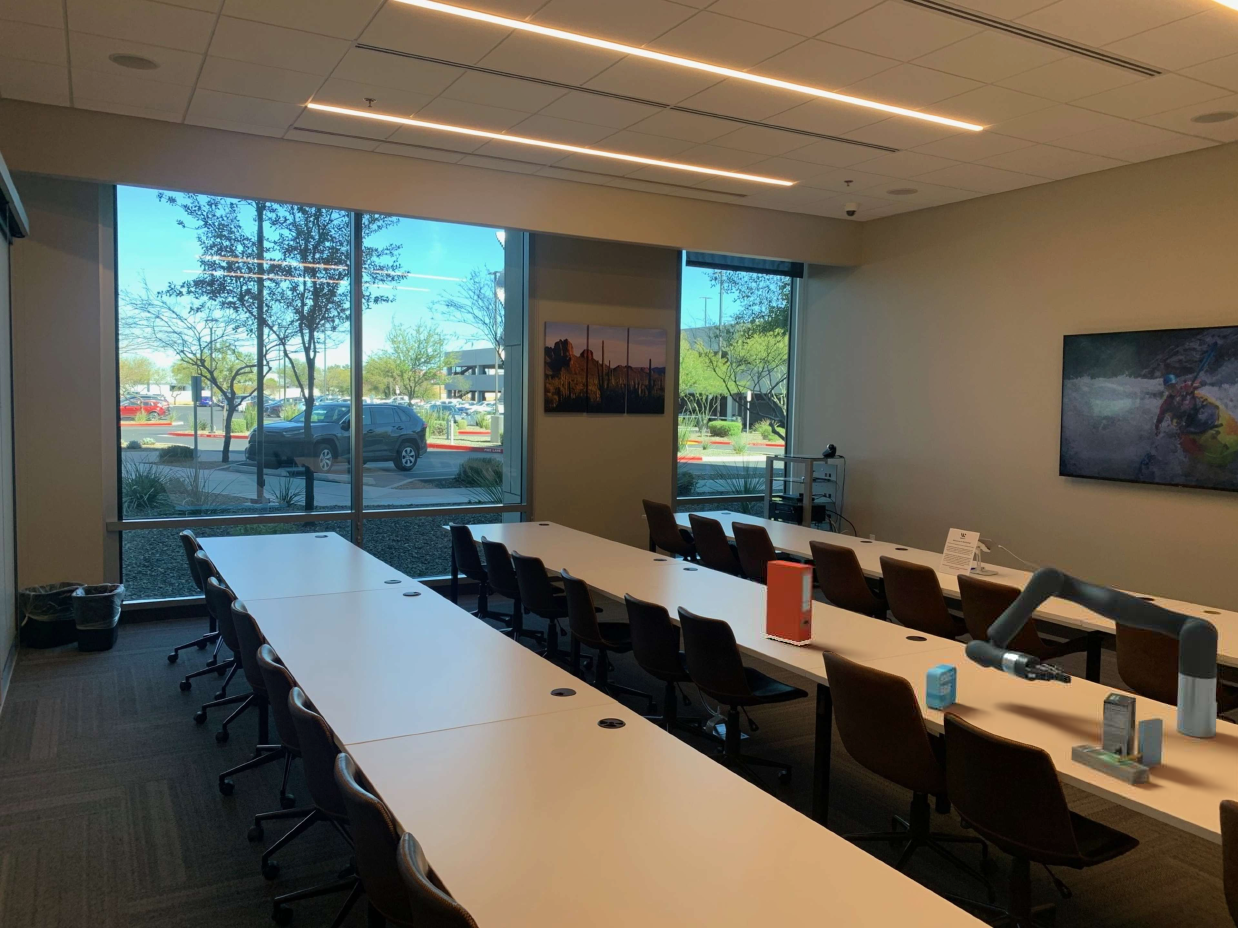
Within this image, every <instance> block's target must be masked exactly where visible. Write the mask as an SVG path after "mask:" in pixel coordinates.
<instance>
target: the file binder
mask: <svg viewBox="0 0 1238 928" xmlns="http://www.w3.org/2000/svg"><path fill="white" fill-rule="evenodd" d="M766 565H767V568H766V570H767V571H766V574H767V575H766V578H767V579H766V612H765V613H766V614H765V615H766V617H765V620H766V621H765V622H766V625H765V626H766V627H765V628H766V629H765V635H766V634H768V635H772V636H776V637H779V638H783V639H788V640H792V641H796V642H801V641H805V640H809V639H811V640H812V621H813V619H812V618H813V617H812V613H813V609H812V608H813V577H814V576H813V575H814V574H813V572H814V571H813V570H814V569H813V568H814V566H813V565H811V564H810V565H809V564H803V563H798V562H790V561H786V560H771V561H767V564H766Z"/></svg>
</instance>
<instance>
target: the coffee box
mask: <svg viewBox="0 0 1238 928" xmlns="http://www.w3.org/2000/svg"><path fill="white" fill-rule="evenodd" d="M1102 705H1103V706H1102V707H1103V708H1102V709H1103V710H1102V712H1103V713H1102V738H1101V742H1102V743H1101V749H1102V750H1105V751H1107V752H1110V753H1112V754H1115V755H1117V756H1120V757H1124V756H1129V755H1134V754H1135V749H1136V748H1135V745H1136V744H1135V742H1136V717H1137V716H1136V712H1137V711H1136V710H1137V709H1136V708H1137V697H1135V696H1129V695H1126V694H1120V693H1114V692H1110V693H1109V694H1108V695H1107V697H1105V699H1104V700H1103V703H1102ZM1128 760H1130V761H1131V759H1128Z"/></svg>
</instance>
